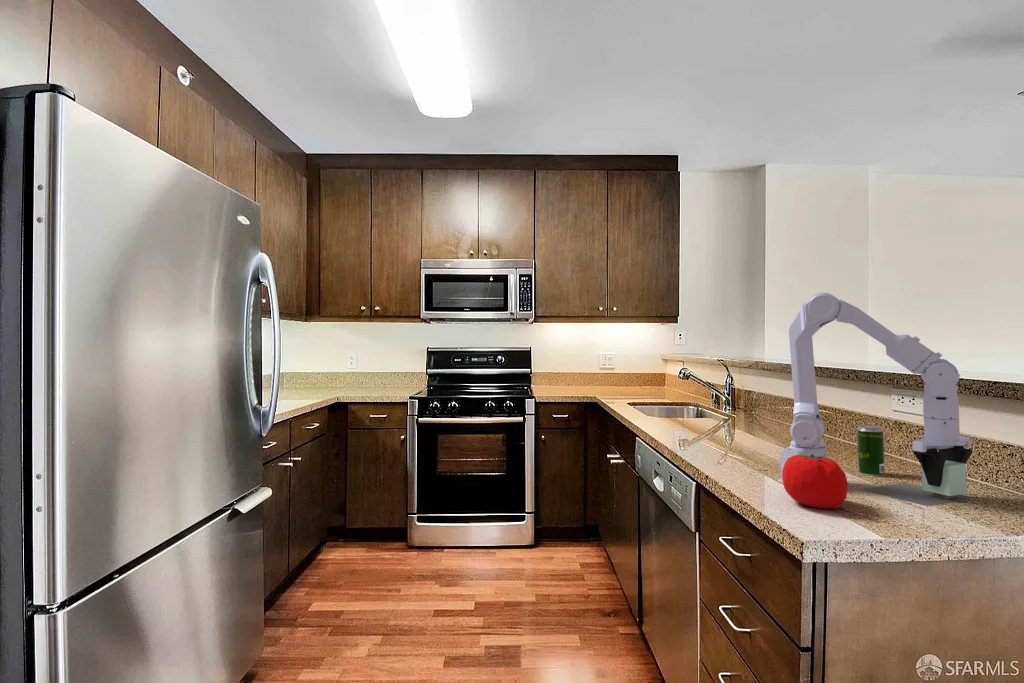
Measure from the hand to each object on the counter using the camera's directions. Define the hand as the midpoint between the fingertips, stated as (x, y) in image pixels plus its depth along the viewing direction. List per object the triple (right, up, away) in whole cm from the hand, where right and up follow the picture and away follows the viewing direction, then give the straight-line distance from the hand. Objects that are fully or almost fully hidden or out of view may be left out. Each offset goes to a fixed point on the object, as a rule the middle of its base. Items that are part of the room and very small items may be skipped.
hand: (943, 484), depth 110 cm
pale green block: (0, -2, 0) cm, 2 cm away
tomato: (-28, -4, -2) cm, 28 cm away
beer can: (-1, -4, +21) cm, 21 cm away
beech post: (0, -3, 0) cm, 3 cm away
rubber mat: (-4, -3, +3) cm, 6 cm away
